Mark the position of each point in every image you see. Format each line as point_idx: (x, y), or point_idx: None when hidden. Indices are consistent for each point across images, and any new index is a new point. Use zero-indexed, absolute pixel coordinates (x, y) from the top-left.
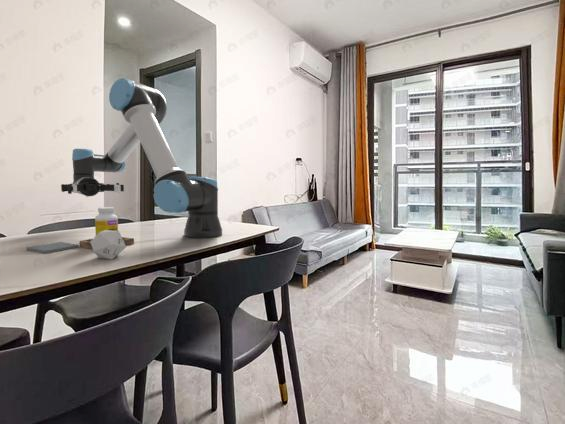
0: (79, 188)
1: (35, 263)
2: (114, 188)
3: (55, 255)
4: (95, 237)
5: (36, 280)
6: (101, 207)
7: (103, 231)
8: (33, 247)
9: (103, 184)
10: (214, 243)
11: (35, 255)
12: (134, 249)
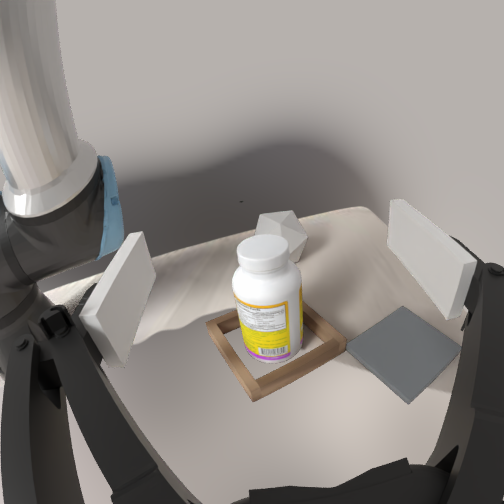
0: (460, 388)
1: (385, 261)
2: (115, 336)
3: (375, 293)
4: (298, 220)
5: (352, 217)
6: (276, 251)
7: (284, 215)
8: (446, 342)
9: (132, 478)
10: (96, 280)
11: (413, 302)
12: (227, 289)
